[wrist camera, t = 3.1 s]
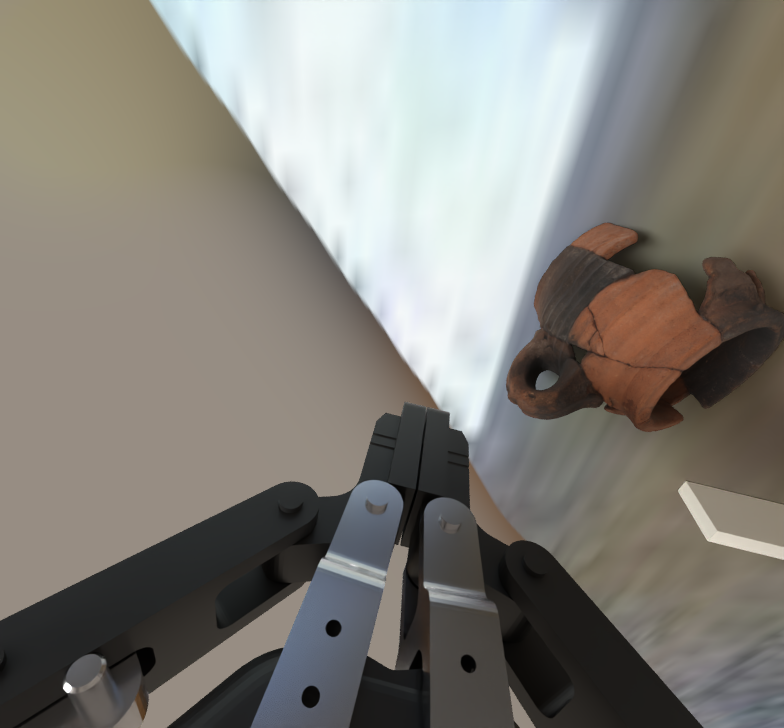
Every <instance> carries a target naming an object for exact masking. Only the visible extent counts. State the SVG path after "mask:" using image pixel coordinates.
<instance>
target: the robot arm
mask: <svg viewBox="0 0 784 728" xmlns="http://www.w3.org/2000/svg"><path fill="white" fill-rule="evenodd" d="M449 416H450V414H449V412H446V411H441V410H437V409H433V408H429V407H428V408H427V410H426V407H424V406H421V405H416V404H412V403H408V402H405V403H404V406H403V410H402V414H401V417H400V416H396V415H392V414H388V413H385V414H384V415H383V416H382V417H381V418H380V419H378V420H377V421H376V425H375V428H374V432H373V435H372V438H371V442H370V445H369V449H368V452H367V456H366V459H365V463H364V466H363V469H362V473H361V476H360V479H359V482H358V483H357V485H356V486H355V487H354V488H353V489H352V490H351V491H349V492H347V493H345V494H342V495H338V496H330V497H318V496H317V494H316V492H315V491H314V490H313V489H312V488H311V487H309V486H308V485H306V484H303V483H300V482H284V483H280V484H278V485H276V486H274V487H272V488H270V489H268V490H265V491H263V492H261V493H259V494H257V495H255V496H253V497H251V498H249V499H247V500H245V501H243V502H241V503H239V504H237V505H235V506H233V507H231V508H229V509H227V510H225V511H223V512H221V513H219V514H217V515H215V516H213V517H210V518H209V519H207V520H204V521H202V522H201V523H198V524H196V525H194V526H192V527H190V528H188V529H186V530H184V531H182V532H180V533H178V534H176V535H174V536H172V537H170V538H168V539H166V540H164V541H162V542H160V543H158V544H156V545H153V546H151V547H149V548H147V549H145V550H143V551H141V552H140V553H137V554H135V555H133V556H131V557H129V558H127V559H125V560H123V561H121V562H119V563H117V564H115V565H113V566H111V567H109V568H107V569H105V570H103V571H101V572H99V573H96V574H94V575H92V576H90V577H88V578H86V579H84V580H82V581H80V582H78V583H76V584H74V585H72V586H70V587H68V588H66V589H64V590H62V591H60V592H58V593H56V594H54V595H52V596H50V597H48V598H46V599H44V600H42V601H40V602H37V603H35V604H33V605H31V606H30V607H27V608H25V609H23V610H21V611H19V612H17V613H15V614H13V615H11V616H9V617H7V618H5V619H3V620H1V621H0V728H140V726H141V724H142V723H143V720H144V718H145V715H146V712H147V708H148V702H149V694H150V693H151V692H153V691H154V690H155V689H157V688H158V687H159V686H161V685H162V684H164V683H165V682H167V681H168V680H170V679H171V678H172V677H174V676H175V675H177V674H178V673H179V672H181V671H182V670H184V669H185V668H187V667H188V666H189V665H191V664H192V663H194V662H195V661H197V660H198V659H199V658H201V657H202V656H204V655H205V654H206V653H208V652H209V651H211V650H212V649H213V648H215V647H216V646H218V645H219V644H221V643H222V642H223V641H225V640H226V639H228V638H229V637H231V636H232V635H233V634H235V633H236V632H237V631H239V630H240V629H242V628H243V627H245V626H246V625H248V624H249V623H250V622H252V621H253V620H255V619H256V618H258V617H259V616H260V615H262V614H263V613H264V612H266V611H268V610H269V609H270V608H272V607H273V606H274V605H276V604H277V603H279V602H280V601H282V600H283V599H285V598H286V597H287V596H289V595H290V594H292V593H293V592H294V591H296V590H297V589H299V588H300V587H301V586H302V585H303V584H304V583H305V582H306V581H311V584H310V586H309V588H308V591H307V593H306V596H305V598H304V600H303V603H302V605H301V608H300V610H299V613H298V615H297V617H296V620H295V622H294V624H293V627H292V629H291V632H290V634H289V636H288V639H287V641H286V644H285V646H284V648H280V649H276V650H273V651H270V652H267V653H265V654H263V655H261V656H259V657H257V658H254V659H253V660H251V661H250V662H248V663H247V664H245V665H243V666H242V667H241V668H240V669H238V670H237V671H235V672H234V673H233V674H232V675H231V676H229V677H228V678H227V679H226V680H224V681H223V682H222V683H221V684H220V685H218V686H217V687H216V688H215V689H213V690H212V691H211V692H210V693H209V694H208V695H206V696H205V697H204V698H202V699H201V700H200V701H199V702H198V703H196V704H195V705H194V706H193V707H191V708H190V709H189V710H188V711H187V712H185V713H184V714H183V715H182V716H180V717H179V718H178V719H177V720H176V721H174V722H173V723H172V724H171V725H169V726H168V727H167V728H519V726H518V725H517V724H516V723H515V721H514V718H513V712H512V705H511V698H510V691H509V686H510V687H511V689H512V691H513V692H514V694H515V695H516V697H517V699H518V700H519V702H520V703H521V705H522V707H523V708H524V710H525V711H526V713H527V715H528V716H529V718H530V719H531V721H532V722H533V724H534V726H535V727H536V728H703V727H702V726H701V724H700V723H699V722H698V721H697V720H696V719H695V718H694V716H693V715H692V714H691V713H690V712H689V711H688V710H687V708H686V707H685V706H684V705H683V704H682V703H681V702H680V700H679V699H678V698H677V697H676V696H675V695H674V694H673V692H672V691H671V690H670V689H669V688H668V687H667V686H666V684H665V683H664V682H663V681H662V680H661V679H660V678H659V676H658V675H657V674H656V673H655V672H654V671H653V670H652V669H651V667H650V666H649V665H648V664H647V663H646V662H645V661H644V659H643V658H642V657H641V656H640V655H639V654H638V653H637V651H636V650H635V649H634V648H633V647H632V646H631V645H630V643H629V642H628V641H627V640H626V639H625V638H624V637H623V635H622V634H621V633H620V632H619V631H618V630H617V629H616V627H615V626H614V625H613V624H612V623H611V622H610V621H609V619H608V618H607V617H606V616H605V615H604V614H603V613H602V611H601V610H600V609H599V608H598V607H597V606H596V605H595V604H594V602H593V601H592V600H591V599H590V598H589V597H588V596H587V594H586V593H585V592H584V591H583V590H582V589H581V588H580V586H579V585H578V584H577V583H576V582H575V581H574V580H573V578H572V577H571V576H570V575H569V574H568V573H567V572H566V570H565V569H564V568H563V567H562V566H561V565H560V564H559V562H558V561H557V560H556V559H555V558H554V557H553V556H552V555H551V554H550V553H549V552H548V551H547V550H546V549H545V548H543V547H542V546H540V545H538V544H536V543H533V542H530V541H524V540H521V541H516V542H514V543H512V544H511V545H510V546H508V545H506V544H504V543H502V542H501V541H499V540H497V539H495V538H493V537H492V536H490V535H488V534H487V533H486V532H485V531H483V530H482V529H481V528H480V527H479V526H478V524H477V523H476V520H475V517H474V515H473V514H472V512H471V511H470V499H469V498H470V497H469V496H470V495H469V469H468V467H469V458H468V457H469V447H468V442H467V440H466V438H465V436H464V434H463V433H462V431H458V430H454V429H450V428H449ZM401 534H402V538H401V546H405V547H409V551H408V558H407V563H406V566H405V568H404V571H403V580H402V600H401V618H400V636H399V649H398V655H397V660H396V665H395V670H391V669H389V668H387V667H385V666H383V665H382V664H380V663H378V662H377V661H375V660H373V659H372V658H370V657H368V656H367V653H368V649H369V645H370V641H371V637H372V633H373V629H374V625H375V621H376V617H377V613H378V609H379V605H380V601H381V597H382V593H383V589H384V585H385V581H386V574H387V569H388V565H389V562H390V558H391V554H392V552H393V548H394V545H395V544H396V545H398V543H399V540H400V537H401Z"/></svg>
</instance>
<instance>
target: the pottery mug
mask: <svg viewBox="0 0 784 728" xmlns="http://www.w3.org/2000/svg"><path fill="white" fill-rule="evenodd" d="M637 240H638V234H637V233H636V232H635V231H633V230H631V229H629V228H623V227H620V226H617V225H613V224H611V223H603V224H602V225H599V226H596V227H594V228H592V229H591V230H589V231H588V232H586V233H584V234H583V235H581V236H580V237H579V238H578V239H576V240H575V241H574V242H573V243H572V244H571V245H569V246H568V247H566V248H565V249H564V250H563V251H562V252H561V253H560V255H559V256H558V257H557V258H556V259H555V260H553V261H552V263H551V264H550V266H549V268H548V269H547V271H546V272H545V273H544V274H543V276H542V278H541V280H540V282H539V284H538V287H537V292H536V295H535V300H534V307H535V309H536V312H537V315H538V320H539V322H540V327H541V329H540V330H537V331H536V333H535V336H534V338H533V339H532V340H531V342H530V343H528V344H527V345H526V346H525V347H524V348H523V349H522V350H521V351H520V352H519V354H518V355H517V356H516V358H515V359H514V361H513V363H512V365H511V368H510V370H509V373H508V376H507V380H506V381H507V384H506V388H507V391H508V398H509V400H510V401H511V402H512V403H514V404H517V405H518V406H519V408H520V409H521V410H522V412H523V413H524V414H526V415H528V416H530V417H533V418H538V419H546V420H548V419H555V418H559V417H562V416H565V415H568V414H570V413H572V412H574V411H577V410H579V409H582V408H590V407H591V408H596V407H599V406H601V404H602V403H603V401H604V402H606V403H607V405H606V406H605V408H604V409H605V410H606V411H608V412H611V413H615V414H620V415H626V416H627V417H628V418H629V419H630V420H631V421H632V423H633V424H634V426H635V427H636V428H638V429H640V430H642V431H645V432H652V431H658V430H662V429H665V428H669V427H672V426H674V425H676V424H678V423H680V422H681V421H683V416H682V415H681V414H680V413H679V412H678V411H677V410H676V409H674V408H673V407H672V406H673V405H675V404H677V403H678V402H680V401H681V400H683V399H684V398H686V397H687V396H688V395H690V394H692V395H694V397H695V398H696V399H697V400H698V401H699V402H700V404H701V405H702V407H703V408H705V409H706V408H709V407H711V406H712V405H714V404H716V403H717V402H719V401H720V400H722V399H723V398H724V397H725V396H727V395H729V394H730V393H731V392H732V391H733V390H735V389H736V388H738V387H739V386H740V385H741V384H742V383H744V382H745V381H746V380H747V379H748V378H749V377H750V376H751V375H752V374H754V373H755V372H756V371H757V370H758V369H759V367H760V366H761V365H762V364H763V363H764V362H765V360H767V359H768V358H769V357H770V356H771V354H772V353H773V352H774V351H775V350H776V349H777V348H778V346H779V344H780V342H781V341H782V340H783V338H784V313H782V312H780V311H778V310H774V309H772V308H771V307H769V306H767V305H766V303H765V292H764V289H763V288H762V283H761V281H760V280H759V279H758V278H757V276H756V274H755V272H754V271H753V270H748V271H746V272H745V273H744V272H742V271H740V270H739V269H738V268H737V267H736V265H735V264H734V262H733V261H732V260H731V259H728V258H721V257H709V258H706V259H704V261H703V263H702V266H703V269H704V271H705V272H706V274H707V275H708V277H709V279H708V281H707V291H706V294H705V298H704V300H703V302H702V304H701V307H700V309H699V311H698V312H697V311H696V310H695V306H694V303H693V302H692V300H691V299H690V298H689V297H688V294H687V292H686V290H685V288H684V287H683V286H682V284H681V282H680V280H679V279H678V277H677V276H676V275H675V274H672V273H668V272H666V271H663V270H657V269H652V270H648V271H644V272H641V273H639V274H635V273H634V271H633V270H631V269H629V268H627V267H624V266H621V265H618V264H615V263H613V262H611V261H607V260H608V259H610V258H611V257H612V256H613V255H614V254H616V253H618V252H620V251H621V250H623V249H625V248H626V247H628V246H630V245H632V244H634V243H636V242H637ZM572 344H573V345H576V346H578V347H580V348H582V349H584V350H587V351H588V352H587V354H585V356H584V357H583V358H582V361H581V364H580V363H579V362H578V361H576V357H575V353H574V350H573V347H572ZM546 370H550V371H553V372H555V373H556V374H558V375H559V379H558V381H557V382H556V383H555V384H554V385H553V386H552V387H550V388H548V389H545V390H536V387H535V384H536V380H537V378H538V376H539V374H540V373H541V372H543V371H546Z"/></svg>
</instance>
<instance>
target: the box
mask: <svg viewBox="0 0 784 728" xmlns="http://www.w3.org/2000/svg"><path fill="white" fill-rule="evenodd" d="M678 492H679V494H680V495H681V497H682V499H683V500H684V502H685V504H686V505H687V507H688V509H689V511H690V512H691V514H692V516H693V517H694V519H695V521H696V522H697V524H698V526H699V527H700V529H701V531H702V533H703V534H704V536H705V538H706V539H707V541H710V542H714V543H718V544H722V545H726V546H730V547H734V548H738V549H742V550H746V551H751V552H755V553H759V554H763V555H767V556H771V557H775V558H779V559H783V560H784V505H783V504H779V503H775V502H771V501H767V500H763V499H758V498H754V497H750V496H746V495H742V494H738V493H734V492H729V491H725V490H721V489H717V488H713V487H709V486H705V485H701V484H696V483H692V482H688V481H685V483H684V484H683V485H682V486H681V487H680V488H679V490H678Z"/></svg>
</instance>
